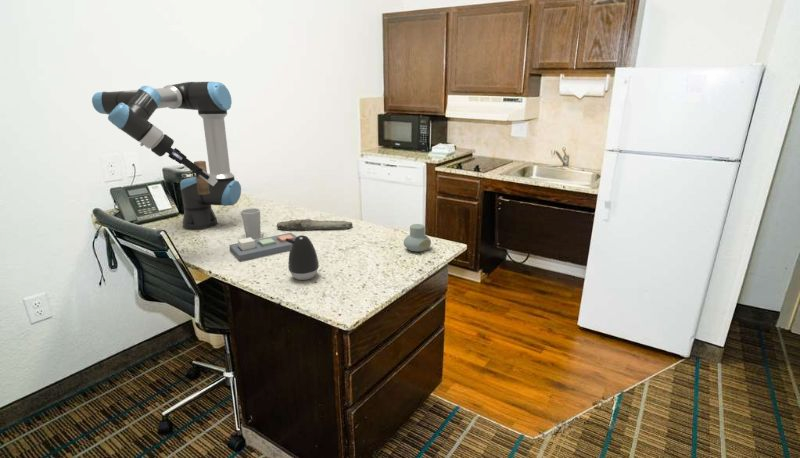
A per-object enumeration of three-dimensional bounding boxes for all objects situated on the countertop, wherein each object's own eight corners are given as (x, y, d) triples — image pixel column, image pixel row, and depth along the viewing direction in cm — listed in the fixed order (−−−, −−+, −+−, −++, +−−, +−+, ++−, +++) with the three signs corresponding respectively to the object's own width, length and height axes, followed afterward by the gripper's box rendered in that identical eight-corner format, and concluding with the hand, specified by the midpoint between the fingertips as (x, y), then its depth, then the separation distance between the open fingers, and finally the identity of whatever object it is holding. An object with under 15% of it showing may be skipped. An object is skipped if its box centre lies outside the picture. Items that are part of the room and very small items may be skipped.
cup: (257, 240, 184) (254, 213, 180) (240, 239, 186) (236, 212, 182) (266, 234, 192) (263, 208, 188) (249, 233, 193) (246, 207, 189)
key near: (238, 246, 170) (237, 239, 169) (251, 244, 173) (250, 237, 172) (242, 250, 166) (241, 243, 165) (255, 247, 169) (254, 240, 168)
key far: (278, 243, 179) (277, 236, 179) (289, 241, 182) (289, 234, 181) (282, 246, 176) (282, 239, 175) (294, 244, 178) (293, 237, 177)
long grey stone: (351, 234, 197) (353, 228, 206) (351, 223, 195) (353, 218, 205) (274, 231, 195) (279, 225, 205) (273, 220, 194) (279, 215, 203)
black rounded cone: (291, 271, 153) (287, 231, 149) (320, 270, 154) (318, 230, 149) (286, 284, 144) (282, 241, 139) (318, 282, 145) (315, 240, 140)
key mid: (259, 247, 175) (258, 240, 174) (271, 244, 178) (270, 238, 177) (263, 251, 171) (262, 244, 170) (275, 248, 174) (275, 241, 173)
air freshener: (418, 243, 180) (419, 220, 177) (433, 248, 175) (434, 225, 172) (400, 250, 173) (400, 226, 170) (415, 255, 168) (415, 231, 164)
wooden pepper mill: (197, 193, 163) (192, 161, 159) (208, 191, 165) (204, 160, 162) (199, 195, 160) (194, 162, 156) (210, 193, 162) (206, 162, 158)
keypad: (229, 250, 173) (229, 245, 172) (291, 238, 187) (290, 232, 186) (240, 261, 162) (239, 255, 161) (304, 247, 176) (304, 241, 176)
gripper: (146, 147, 155) (202, 186, 170) (153, 152, 142) (213, 194, 156) (160, 131, 156) (214, 171, 171) (168, 135, 143) (226, 178, 158)
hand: (213, 182), depth 164 cm, fingers closed on wooden pepper mill, 4 cm apart
